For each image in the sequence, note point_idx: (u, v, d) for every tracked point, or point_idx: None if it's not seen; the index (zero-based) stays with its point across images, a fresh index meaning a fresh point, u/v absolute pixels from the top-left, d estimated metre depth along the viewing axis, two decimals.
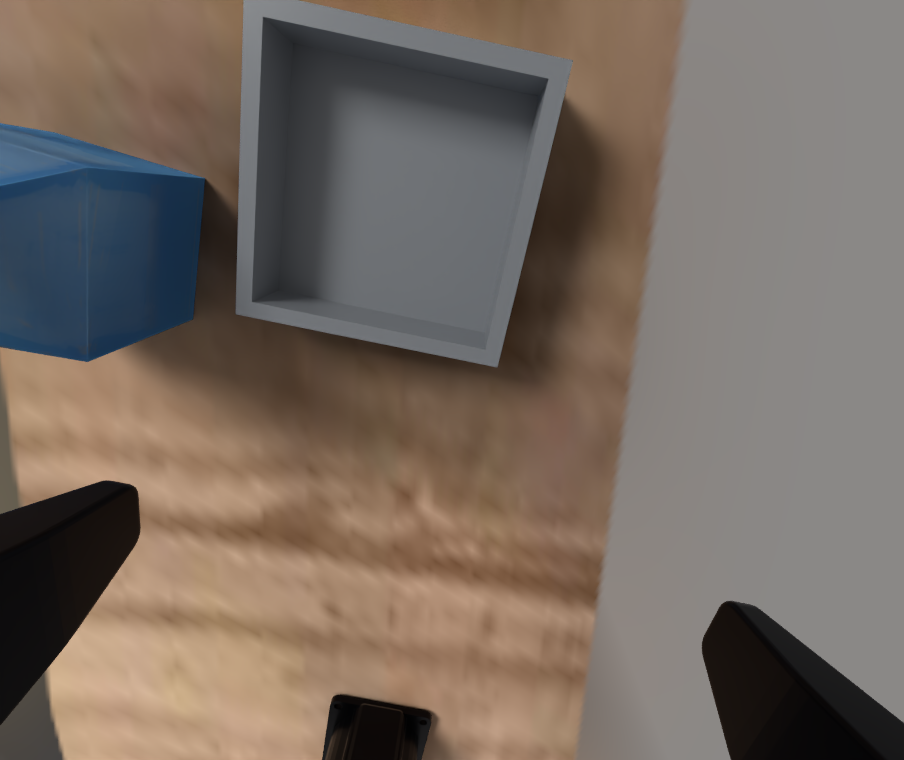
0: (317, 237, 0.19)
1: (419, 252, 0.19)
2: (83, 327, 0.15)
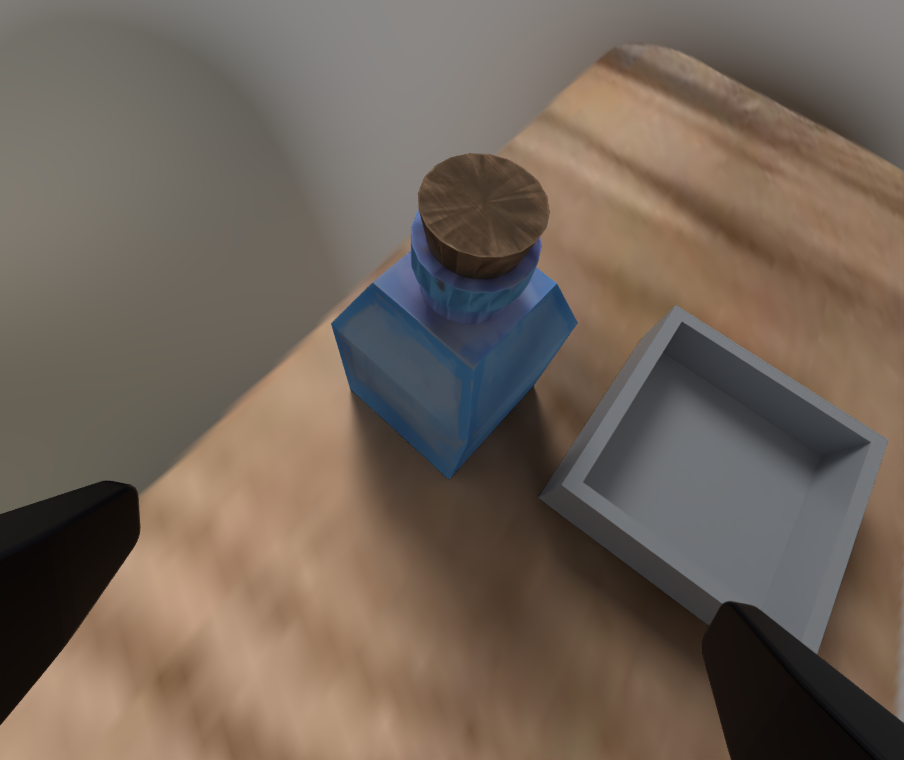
0: (618, 467, 0.20)
1: (704, 522, 0.20)
2: (490, 415, 0.15)
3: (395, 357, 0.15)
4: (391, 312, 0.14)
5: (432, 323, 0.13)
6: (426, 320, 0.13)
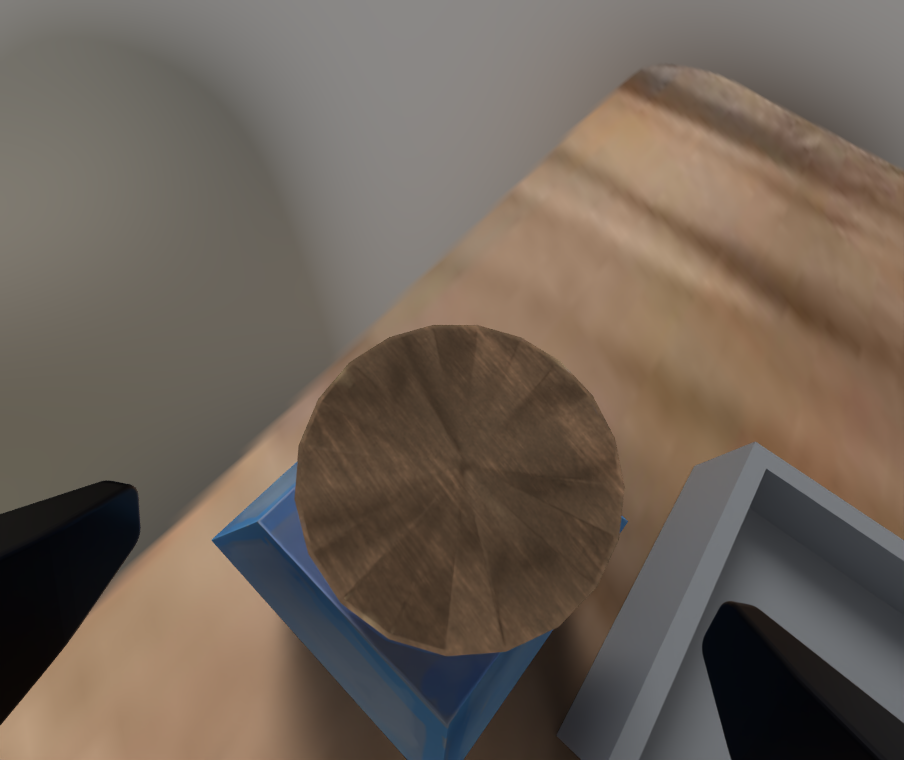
0: (676, 688, 0.14)
1: None
2: (483, 728, 0.08)
3: (310, 631, 0.08)
4: (294, 575, 0.07)
5: None
6: None
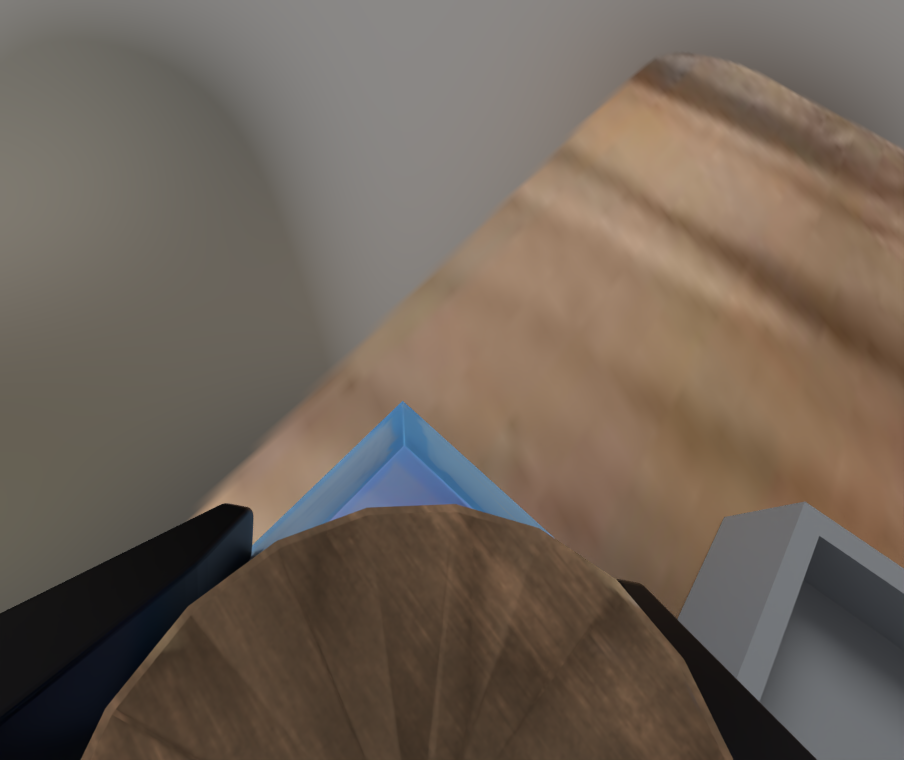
0: None
1: None
2: None
3: None
4: None
5: None
6: None
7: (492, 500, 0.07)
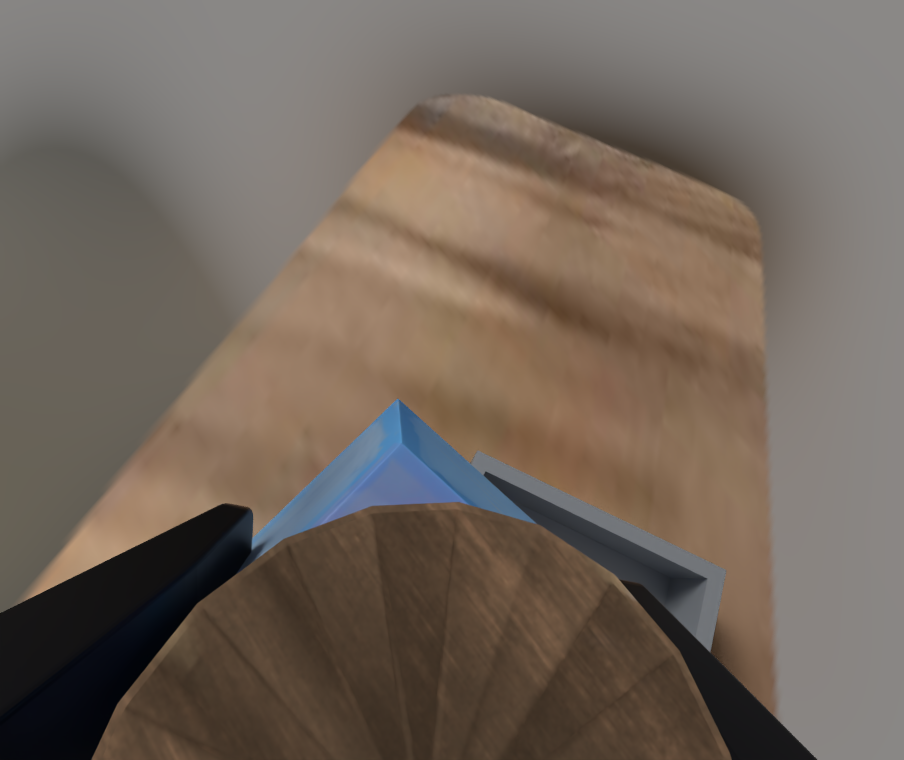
0: None
1: None
2: None
3: None
4: None
5: None
6: None
7: (487, 497, 0.07)
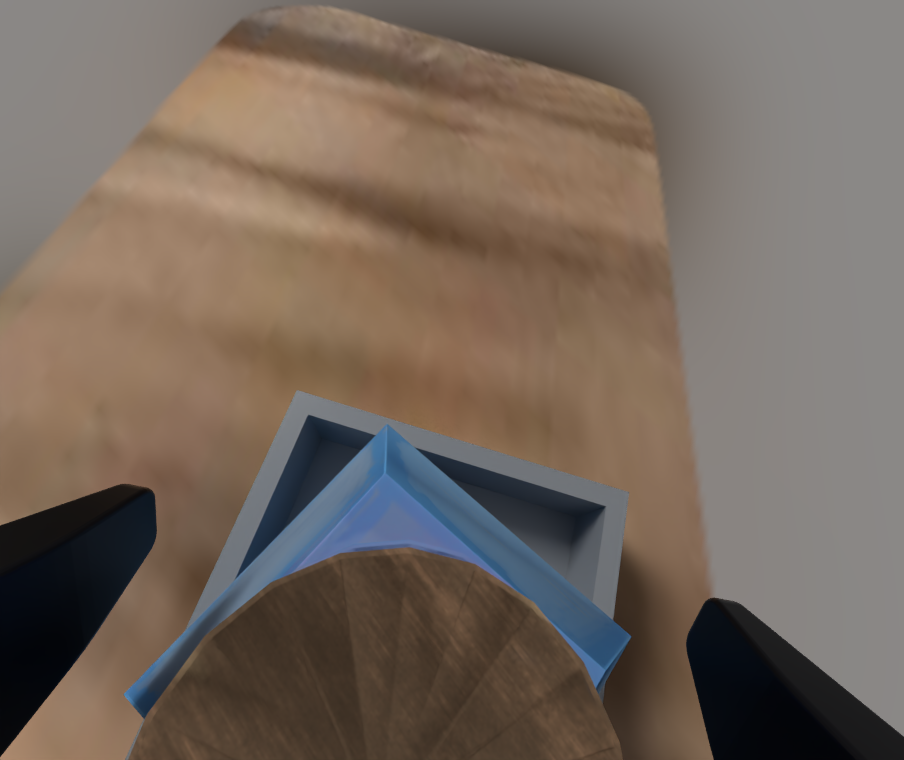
0: None
1: None
2: None
3: None
4: None
5: None
6: None
7: (468, 516, 0.08)
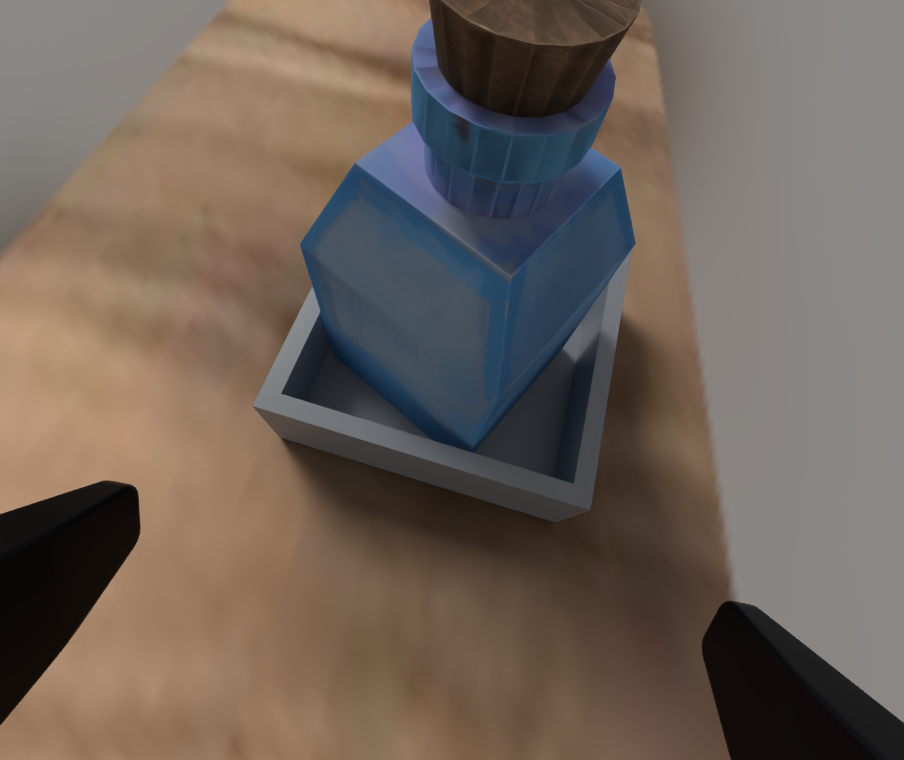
0: None
1: None
2: (528, 362, 0.11)
3: (390, 281, 0.10)
4: (383, 207, 0.09)
5: (444, 218, 0.09)
6: (435, 213, 0.09)
7: None
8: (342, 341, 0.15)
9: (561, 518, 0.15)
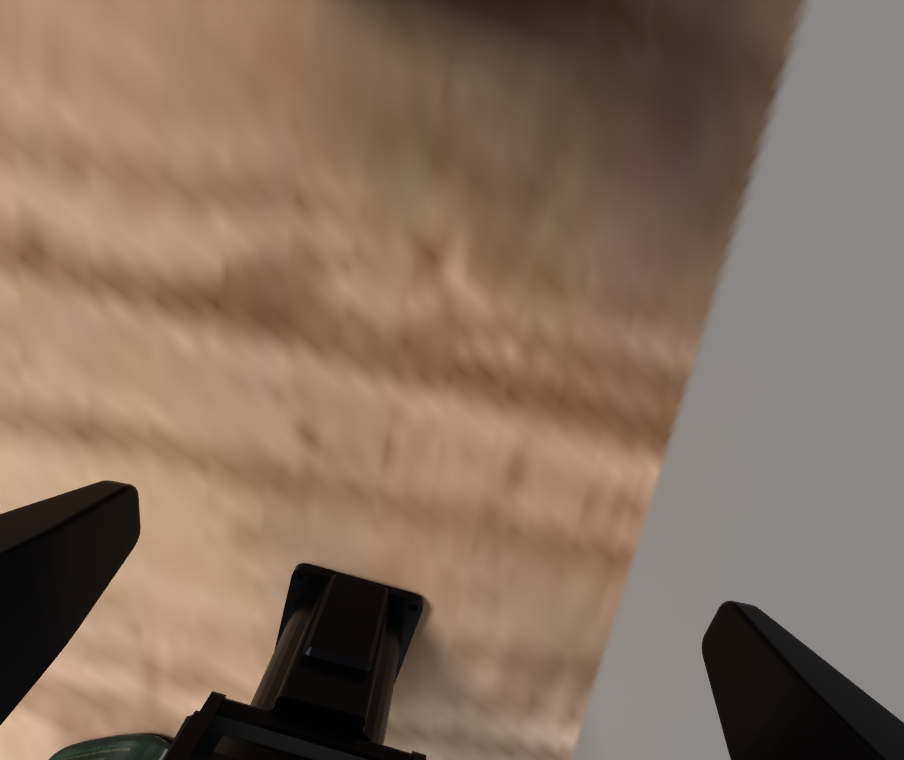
0: None
1: None
2: None
3: None
4: None
5: None
6: None
7: None
8: None
9: None
